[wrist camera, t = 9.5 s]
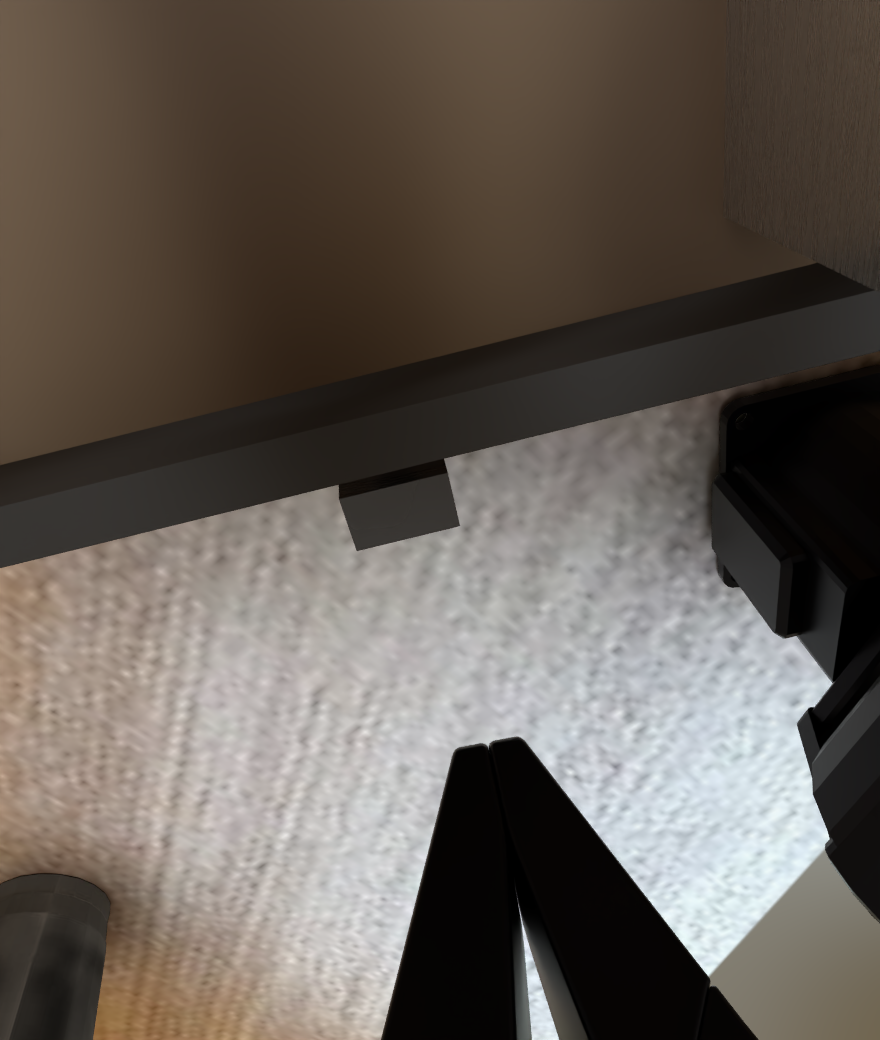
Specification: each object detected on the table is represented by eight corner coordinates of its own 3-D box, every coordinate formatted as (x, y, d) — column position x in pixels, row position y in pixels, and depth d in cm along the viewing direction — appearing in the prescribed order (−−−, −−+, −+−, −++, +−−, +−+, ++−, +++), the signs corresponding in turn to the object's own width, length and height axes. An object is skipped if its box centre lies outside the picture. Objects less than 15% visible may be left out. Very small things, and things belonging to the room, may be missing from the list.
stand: (322, -675, 10) (319, -1371, 5) (504, 403, 20) (568, 538, 15) (-101, -565, 10) (-523, -1144, 5) (283, 457, 20) (269, 611, 15)
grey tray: (1015, -621, 10) (1678, -1231, 5) (892, 241, 17) (1131, 334, 12) (-684, -191, 10) (-1620, -387, 5) (-142, 496, 17) (-334, 695, 12)
